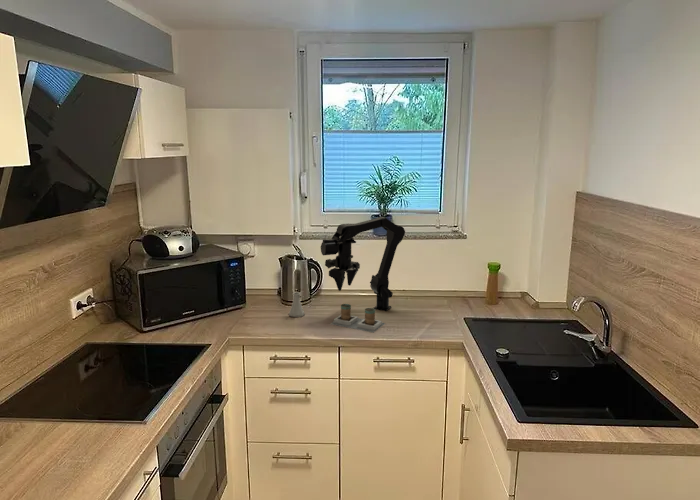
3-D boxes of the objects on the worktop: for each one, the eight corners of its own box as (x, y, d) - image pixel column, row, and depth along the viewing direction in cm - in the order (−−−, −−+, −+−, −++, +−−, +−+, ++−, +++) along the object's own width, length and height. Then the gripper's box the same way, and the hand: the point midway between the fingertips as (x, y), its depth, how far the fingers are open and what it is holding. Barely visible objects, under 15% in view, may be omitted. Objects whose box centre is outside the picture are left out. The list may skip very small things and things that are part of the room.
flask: (306, 312, 228) (306, 291, 226) (303, 317, 221) (303, 295, 219) (290, 311, 228) (290, 290, 226) (287, 317, 221) (286, 295, 219)
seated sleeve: (367, 323, 211) (367, 307, 210) (376, 325, 210) (376, 308, 208) (362, 326, 208) (363, 310, 206) (372, 328, 206) (372, 311, 204)
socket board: (343, 317, 221) (343, 312, 220) (385, 325, 212) (385, 319, 212) (329, 326, 210) (329, 320, 210) (373, 335, 202) (373, 329, 201)
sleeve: (343, 318, 216) (343, 303, 215) (352, 320, 214) (352, 304, 213) (339, 322, 213) (339, 306, 211) (347, 323, 211) (348, 307, 209)
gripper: (338, 247, 232) (338, 280, 235) (317, 255, 216) (317, 290, 219) (360, 250, 227) (360, 283, 230) (340, 258, 211) (340, 294, 214)
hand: (344, 287), depth 224 cm, fingers open, 9 cm apart
